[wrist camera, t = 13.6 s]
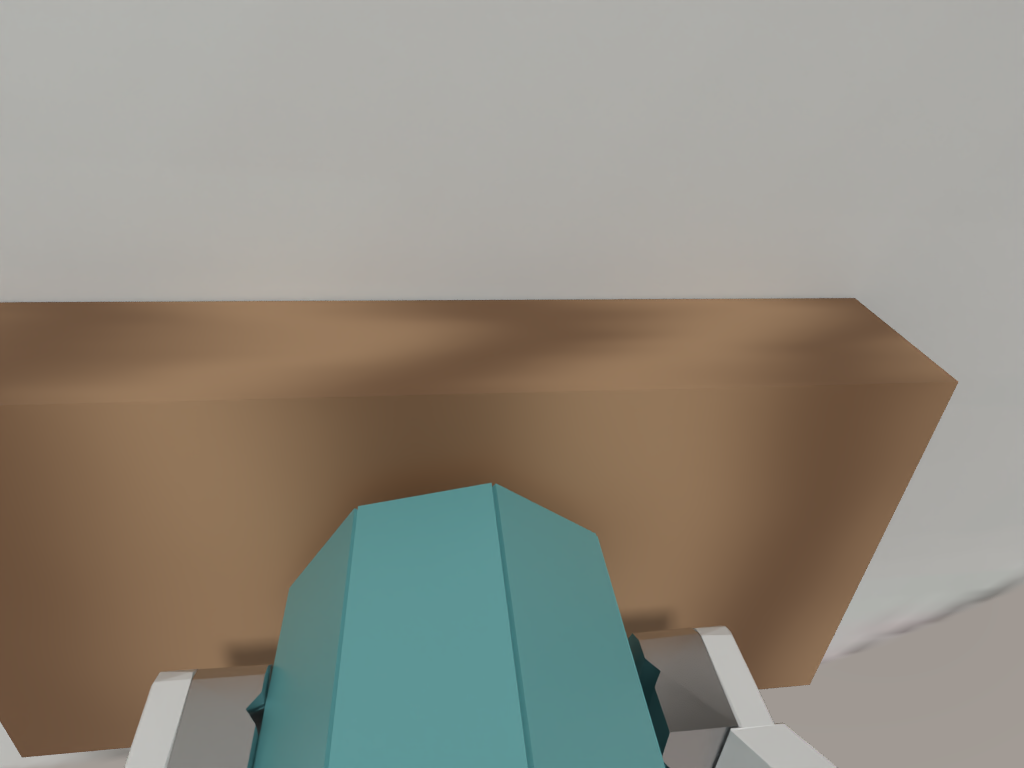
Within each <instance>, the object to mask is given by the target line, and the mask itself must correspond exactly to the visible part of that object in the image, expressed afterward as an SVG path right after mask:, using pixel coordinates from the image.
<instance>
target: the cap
mask: <svg viewBox="0 0 1024 768" xmlns="http://www.w3.org/2000/svg"><path fill="white" fill-rule="evenodd" d="M253 768H665V764H664V761H663V758H662V754H661V751H660V747H659V744H658V741H657V737H656V734H655V730H654V727H653V724H652V720H651V717H650V713H649V710H648V707H647V703H646V700H645V696H644V693H643V689H642V686H641V683H640V679H639V676H638V672H637V669H636V666H635V662H634V659H633V655H632V652H631V649H630V645H629V642H628V638H627V635H626V632H625V628H624V625H623V621H622V618H621V614H620V611H619V608H618V604H617V601H616V597H615V594H614V591H613V587H612V584H611V580H610V577H609V574H608V570H607V567H606V563H605V560H604V557H603V553H602V550H601V546H600V543H599V539H598V536H596V533H594V532H592V531H590V530H588V529H586V528H584V527H582V526H580V525H578V524H576V523H574V522H572V521H570V520H568V519H566V518H564V517H562V516H560V515H558V514H556V513H554V512H552V511H550V510H548V509H546V508H544V507H542V506H540V505H538V504H536V503H534V502H532V501H530V500H528V499H526V498H524V497H522V496H520V495H518V494H516V493H514V492H512V491H510V490H508V489H506V488H504V487H502V486H500V485H498V484H495V485H494V486H493V487H492V483H487V484H481V485H476V486H470V487H464V488H459V489H453V490H447V491H442V492H436V493H430V494H425V495H419V496H413V497H407V498H402V499H396V500H390V501H385V502H379V503H373V504H368V505H362V506H358V510H357V509H355V508H354V509H353V510H352V512H351V513H350V514H349V515H348V517H347V518H346V519H345V520H344V521H343V523H342V524H341V525H340V526H339V528H338V529H337V530H336V531H335V533H334V534H333V535H332V536H331V537H330V539H329V540H328V541H327V542H326V544H325V545H324V546H323V547H322V548H321V550H320V551H319V552H318V553H317V555H316V556H315V557H314V558H313V560H312V561H311V562H310V563H309V564H308V566H307V567H306V568H305V569H304V571H303V572H302V573H301V574H300V575H299V577H298V578H297V579H296V580H295V582H294V583H293V584H292V585H291V587H290V588H289V592H288V597H287V602H286V607H285V612H284V616H283V621H282V626H281V631H280V636H279V641H278V646H277V651H276V656H275V661H274V665H273V670H272V675H271V680H270V685H269V690H268V695H267V700H266V705H265V710H264V714H263V719H262V724H261V729H260V734H259V739H258V744H257V749H256V755H255V760H254V765H253Z"/></svg>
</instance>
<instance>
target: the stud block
mask: <svg viewBox="0 0 1024 768" xmlns="http://www.w3.org/2000/svg"><path fill="white" fill-rule="evenodd" d="M957 384H958V381H957V380H955V379H954V378H953V377H952V376H951V375H949V374H948V373H947V372H946V371H944V370H943V369H942V368H941V367H939V366H938V365H937V364H936V363H934V362H933V361H932V360H931V359H929V358H928V357H927V356H926V355H925V354H923V353H922V352H921V351H920V350H918V349H917V348H916V347H915V346H913V345H912V344H911V343H910V342H908V341H907V340H906V339H905V338H903V337H902V336H901V335H900V334H899V333H897V332H896V331H895V330H894V329H892V328H891V327H890V326H889V325H887V324H886V323H885V322H884V321H882V320H881V319H880V318H879V317H877V316H876V315H875V314H874V313H873V312H871V311H870V310H869V309H868V308H866V307H865V306H864V305H863V304H861V303H860V302H859V301H858V300H856V299H855V298H819V299H618V300H417V301H216V302H15V303H0V722H1V723H2V725H3V727H4V728H5V730H6V732H7V733H8V735H9V737H10V738H11V740H12V742H13V743H14V745H15V747H16V748H17V750H18V752H19V753H20V755H21V757H31V756H42V755H53V754H64V753H75V752H86V751H96V750H107V749H118V748H129V747H131V745H132V742H133V739H134V736H135V733H136V730H137V727H138V724H139V721H140V718H141V715H142V712H143V710H144V707H145V704H146V701H147V698H148V695H149V692H150V689H151V686H152V684H153V682H154V681H155V679H156V678H157V676H158V674H159V673H160V672H166V671H177V670H189V669H208V668H222V667H236V666H251V665H265V664H272V666H273V665H274V661H275V656H276V651H277V646H278V641H279V636H280V631H281V626H282V621H283V616H284V612H285V607H286V602H287V597H288V592H289V588H290V587H291V585H292V584H293V583H294V582H295V580H296V579H297V578H298V577H299V575H300V574H301V573H302V572H303V571H304V569H305V568H306V567H307V566H308V564H309V563H310V562H311V561H312V560H313V558H314V557H315V556H316V555H317V553H318V552H319V551H320V550H321V548H322V547H323V546H324V545H325V544H326V542H327V541H328V540H329V539H330V537H331V536H332V535H333V534H334V533H335V531H336V530H337V529H338V528H339V526H340V525H341V524H342V523H343V521H344V520H345V519H346V518H347V517H348V515H349V514H350V513H351V512H352V510H353V509H354V508H355V509H357V510H358V506H362V505H368V504H373V503H379V502H385V501H390V500H396V499H402V498H407V497H413V496H419V495H425V494H430V493H436V492H442V491H447V490H453V489H459V488H464V487H470V486H476V485H481V484H487V483H492V487H493V486H494V485H495V484H498V485H500V486H502V487H504V488H506V489H508V490H510V491H512V492H514V493H516V494H518V495H520V496H522V497H524V498H526V499H528V500H530V501H532V502H534V503H536V504H538V505H540V506H542V507H544V508H546V509H548V510H550V511H552V512H554V513H556V514H558V515H560V516H562V517H564V518H566V519H568V520H570V521H572V522H574V523H576V524H578V525H580V526H582V527H584V528H586V529H588V530H590V531H592V532H594V533H596V536H598V539H599V543H600V546H601V550H602V553H603V557H604V560H605V563H606V567H607V570H608V574H609V577H610V580H611V584H612V587H613V591H614V594H615V597H616V601H617V604H618V608H619V611H620V614H621V618H622V621H623V625H624V628H625V632H626V635H627V638H629V637H630V635H631V634H632V633H640V632H650V631H659V630H669V629H679V628H689V627H691V628H700V627H710V626H720V625H721V626H726V627H727V628H728V629H729V630H730V631H731V633H732V635H733V637H734V639H735V641H736V643H737V646H738V648H739V650H740V652H741V654H742V656H743V658H744V660H745V662H746V664H747V667H748V669H749V671H750V673H751V675H752V677H753V679H754V681H755V683H756V685H757V687H758V689H768V688H779V687H790V686H800V685H810V683H811V680H812V679H813V677H814V674H815V673H816V671H817V669H818V667H819V665H820V663H821V660H822V658H823V656H824V654H825V652H826V650H827V648H828V646H829V644H830V642H831V640H832V638H833V636H834V634H835V632H836V630H837V628H838V626H839V624H840V622H841V620H842V618H843V616H844V614H845V612H846V610H847V608H848V606H849V603H850V601H851V599H852V597H853V595H854V593H855V591H856V589H857V587H858V585H859V583H860V581H861V579H862V577H863V575H864V573H865V571H866V569H867V567H868V565H869V563H870V561H871V559H872V557H873V555H874V553H875V551H876V549H877V546H878V544H879V542H880V540H881V538H882V536H883V534H884V532H885V530H886V528H887V526H888V524H889V522H890V520H891V518H892V516H893V514H894V512H895V510H896V508H897V506H898V504H899V502H900V500H901V498H902V496H903V494H904V492H905V489H906V487H907V485H908V483H909V481H910V479H911V477H912V475H913V473H914V471H915V469H916V467H917V465H918V463H919V461H920V459H921V457H922V455H923V453H924V451H925V449H926V447H927V445H928V443H929V441H930V439H931V437H932V435H933V433H934V430H935V428H936V426H937V424H938V422H939V420H940V418H941V416H942V414H943V412H944V410H945V408H946V406H947V404H948V402H949V400H950V398H951V396H952V394H953V392H954V390H955V388H956V386H957Z"/></svg>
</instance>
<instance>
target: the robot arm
mask: <svg viewBox="0 0 1024 768" xmlns="http://www.w3.org/2000/svg"><path fill="white" fill-rule="evenodd" d="M628 642H629V645H630V649H631V652H632V655H633V659H634V662H635V666H636V669H637V672H638V676H639V679H640V683H641V686H642V689H643V693H644V696H645V700H646V703H647V707H648V710H649V713H650V717H651V720H652V724H653V727H654V730H655V734H656V737H657V741H658V744H659V747H660V751H661V754H662V758H663V761H664V764H665V768H837V767H836V766H835V765H834V764H833V763H831V762H830V761H829V760H828V759H826V758H825V757H824V756H823V755H822V754H821V753H819V752H818V751H817V750H816V749H815V748H813V747H812V746H811V745H810V744H809V743H807V742H806V741H805V740H804V739H803V738H801V737H800V736H799V735H798V734H797V733H795V732H794V731H793V730H792V729H790V728H789V727H788V726H787V725H786V724H784V723H776V724H775V723H774V721H773V719H772V717H771V715H770V713H769V711H768V708H767V706H766V704H765V702H764V700H763V698H762V696H761V694H760V692H759V690H758V687H757V685H756V683H755V681H754V679H753V677H752V675H751V673H750V671H749V669H748V667H747V664H746V662H745V660H744V658H743V656H742V654H741V652H740V650H739V648H738V646H737V643H736V641H735V639H734V637H733V635H732V633H731V631H730V630H729V629H728V628H727V627H726V626H721V625H720V626H710V627H700V628H691V627H689V628H679V629H669V630H659V631H650V632H640V633H632V634H631V635H630V637H629V638H628ZM272 670H273V666H272V664H265V665H251V666H236V667H222V668H208V669H189V670H177V671H166V672H160V673H159V674H158V676H157V678H156V679H155V681H154V682H153V684H152V686H151V689H150V692H149V695H148V698H147V701H146V704H145V707H144V710H143V712H142V715H141V718H140V721H139V724H138V727H137V730H136V733H135V736H134V739H133V742H132V745H131V748H130V751H129V754H128V757H127V760H126V763H125V766H124V768H253V765H254V760H255V755H256V749H257V744H258V739H259V734H260V729H261V724H262V719H263V714H264V710H265V705H266V700H267V695H268V690H269V685H270V680H271V675H272Z"/></svg>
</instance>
